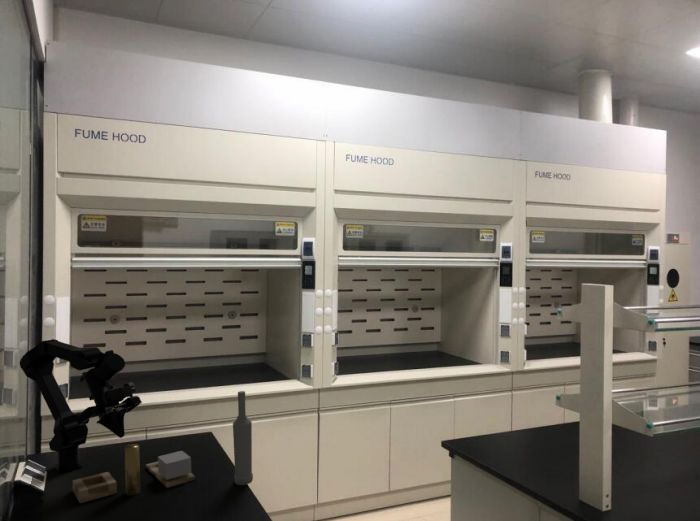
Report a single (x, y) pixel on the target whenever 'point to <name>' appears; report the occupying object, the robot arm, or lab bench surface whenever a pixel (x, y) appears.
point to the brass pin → (132, 469)
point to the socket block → (94, 487)
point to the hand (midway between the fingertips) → (122, 436)
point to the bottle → (242, 444)
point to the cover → (174, 465)
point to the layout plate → (170, 482)
